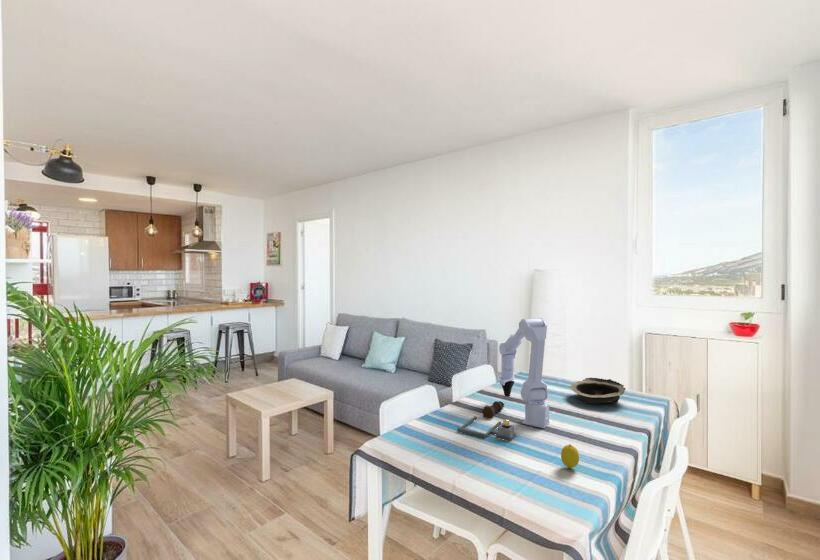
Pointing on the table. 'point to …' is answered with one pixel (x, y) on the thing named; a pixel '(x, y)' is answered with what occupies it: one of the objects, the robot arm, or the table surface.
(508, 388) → the robot arm
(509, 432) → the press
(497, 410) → the bolt
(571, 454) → the lemon
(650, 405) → the table surface
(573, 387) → the stone bowl
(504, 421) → the press pin
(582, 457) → the table surface
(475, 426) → the table surface
